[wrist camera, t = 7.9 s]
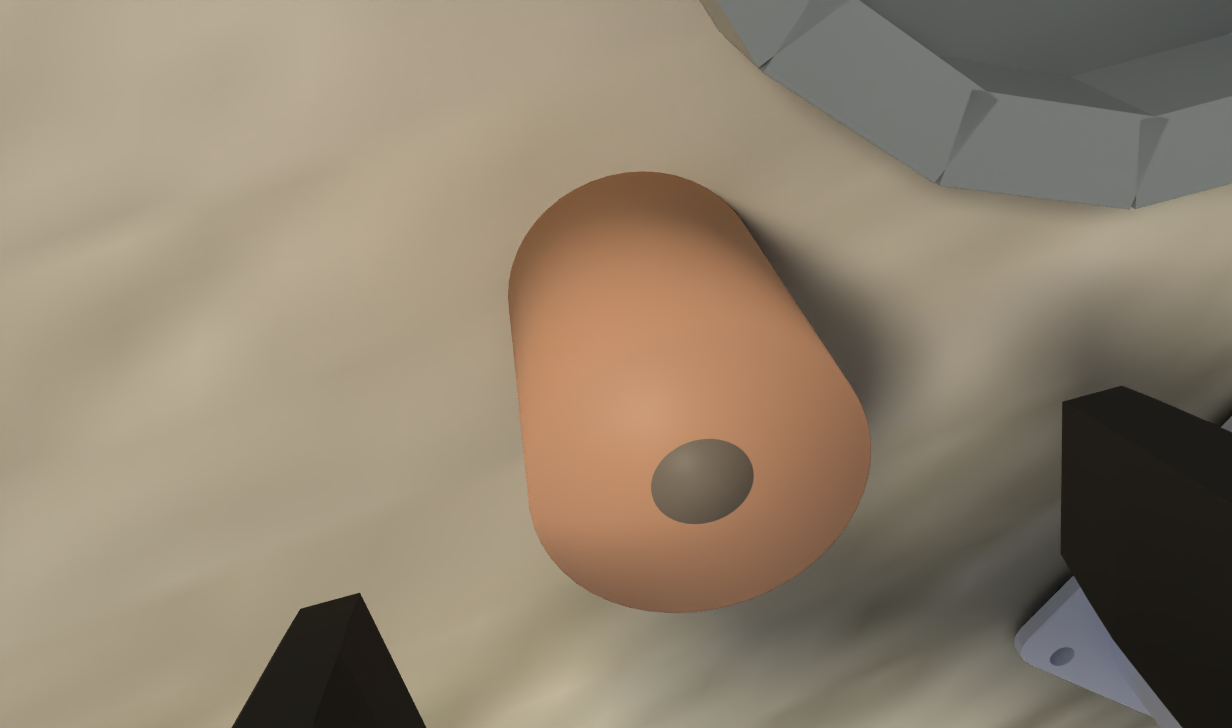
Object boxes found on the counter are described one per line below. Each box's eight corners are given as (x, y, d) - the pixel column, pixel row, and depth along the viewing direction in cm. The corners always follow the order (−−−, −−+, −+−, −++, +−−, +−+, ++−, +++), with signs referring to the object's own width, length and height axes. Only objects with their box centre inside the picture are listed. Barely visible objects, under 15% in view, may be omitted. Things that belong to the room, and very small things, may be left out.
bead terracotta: (808, 247, 16) (939, 418, 12) (670, 436, 17) (740, 651, 13) (594, 123, 14) (652, 266, 10) (461, 339, 16) (464, 546, 12)
